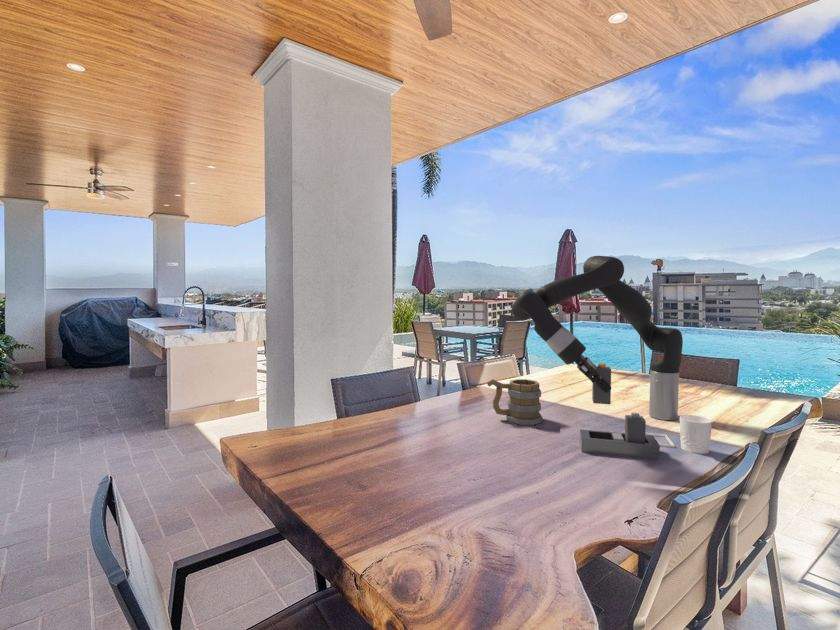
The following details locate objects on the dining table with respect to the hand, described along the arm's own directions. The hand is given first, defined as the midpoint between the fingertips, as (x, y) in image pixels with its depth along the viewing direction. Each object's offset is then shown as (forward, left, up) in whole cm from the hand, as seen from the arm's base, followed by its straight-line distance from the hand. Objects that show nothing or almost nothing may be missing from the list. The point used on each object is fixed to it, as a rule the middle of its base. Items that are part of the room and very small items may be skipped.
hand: (608, 388), depth 122 cm
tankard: (-25, -29, -19) cm, 43 cm away
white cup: (-8, +24, -19) cm, 32 cm away
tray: (-12, +14, -19) cm, 27 cm away
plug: (0, -2, -4) cm, 5 cm away
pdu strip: (0, +3, -19) cm, 19 cm away
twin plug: (0, +7, -18) cm, 19 cm away
